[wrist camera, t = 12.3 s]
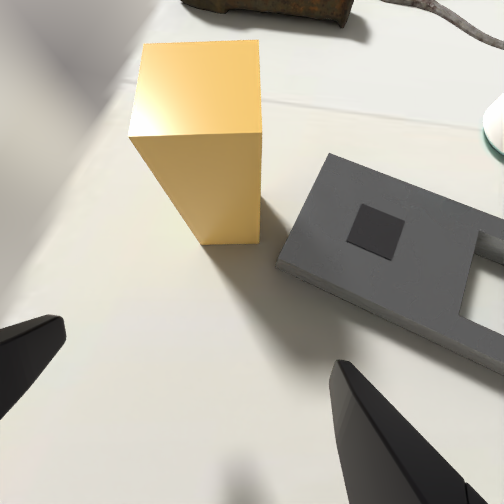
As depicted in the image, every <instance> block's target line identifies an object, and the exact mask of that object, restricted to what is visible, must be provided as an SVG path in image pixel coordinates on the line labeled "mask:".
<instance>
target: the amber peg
mask: <svg viewBox="0 0 504 504" xmlns="http://www.w3.org/2000/svg"><path fill="white" fill-rule="evenodd" d="M128 137H129V139H130V140H131V142H132V143H133V145H134V146H135V148H136V149H137V151H138V152H139V154H140V155H141V157H142V158H143V160H144V161H145V162H146V164H147V165H148V167H149V168H150V170H151V171H152V173H153V174H154V176H155V177H156V179H157V180H158V182H159V183H160V185H161V186H162V188H163V189H164V191H165V192H166V194H167V195H168V197H169V198H170V200H171V201H172V203H173V204H174V206H175V207H176V209H177V210H178V212H179V213H180V215H181V216H182V218H183V219H184V221H185V222H186V224H187V225H188V227H189V228H190V230H191V231H192V233H193V234H194V236H195V237H196V239H197V240H198V242H199V243H200V245H218V244H259V234H260V196H261V157H262V116H261V90H260V64H259V40H237V41H209V42H181V43H153V44H144V46H143V51H142V57H141V63H140V69H139V75H138V81H137V87H136V93H135V99H134V105H133V110H132V116H131V122H130V128H129V134H128Z"/></svg>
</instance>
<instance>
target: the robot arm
mask: <svg viewBox="0 0 504 504" xmlns="http://www.w3.org/2000/svg"><path fill="white" fill-rule="evenodd" d="M65 341H66V331H65V325H64V320H63V318H62V317H61V316H57V315H44V316H41V317H38V318H34V319H31V320H28V321H25V322H22V323H18V324H15V325H12V326H9V327H5V328H2V329H0V420H1V419H2V418H3V417H4V415H5V414H6V413H7V412H8V411H9V410H10V409H11V408H12V407H13V406H14V405H15V403H16V402H17V401H18V400H19V399H20V398H21V397H22V396H23V395H24V393H25V392H26V391H27V390H28V389H29V388H30V387H31V385H32V384H33V383H34V382H35V380H36V379H37V378H38V377H39V375H40V374H41V373H42V371H43V370H44V369H45V368H46V366H47V365H48V364H49V362H50V361H51V360H52V359H53V357H54V356H55V355H56V353H57V352H58V351H59V350H60V348H61V347H62V346H63V344H64V343H65ZM329 389H330V397H331V406H332V414H333V422H334V431H335V438H336V444H337V449H338V454H339V458H340V463H341V468H342V472H343V477H344V481H345V486H346V490H347V495H348V500H349V504H488V503H487V502H486V501H485V500H484V499H483V498H482V497H481V496H480V495H479V494H478V493H477V492H476V491H475V490H474V489H473V488H472V487H471V486H470V485H469V484H468V483H465V481H464V479H463V478H462V477H461V475H460V474H459V473H458V472H457V471H456V470H455V469H454V468H453V467H452V466H451V465H450V464H449V463H448V462H447V461H446V460H445V459H444V458H443V457H442V456H441V455H440V454H439V453H438V452H437V451H436V450H435V449H434V448H433V447H432V446H431V445H430V444H429V443H428V441H427V440H426V439H425V438H424V437H423V436H422V435H421V434H420V433H419V432H418V431H417V430H416V429H415V428H414V427H413V426H412V425H411V424H410V423H409V422H408V421H407V420H406V419H405V418H404V417H403V416H402V415H401V414H400V413H399V412H398V411H397V410H396V409H395V407H394V406H393V405H392V404H391V403H390V402H389V401H388V400H387V399H386V398H385V397H384V396H383V395H382V394H381V393H380V392H379V391H378V390H377V389H376V388H375V387H374V386H373V385H372V384H371V383H370V382H369V381H368V380H367V379H366V378H365V377H364V376H363V375H362V373H361V372H360V371H359V370H358V369H357V368H356V367H355V366H354V365H353V364H352V363H351V362H349V361H345V360H336V361H335V363H334V366H333V369H332V373H331V376H330V380H329Z"/></svg>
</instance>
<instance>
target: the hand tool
mask: <svg viewBox="0 0 504 504" xmlns="http://www.w3.org/2000/svg"><path fill="white" fill-rule="evenodd" d="M181 1H182V2H183V3H185V4H187V5H190V6H193V7H195V8H198V9H203V10H208V11H212V12H216V13H220V14H225V13H226V12H227V11H228V10H230V9H236V8H238V9H247V10H254V11H260V12H265V11H268V12H274V13H280V14H288V15H295V16H303V17H310V18H316V19H319V20H322V19H330V20H335V21H337V22H338V23H339V25H340V28H344V25H345V23H346V22H347V19H348V17H349V14H350V11H351V8H352V5H353V2H354V0H181Z"/></svg>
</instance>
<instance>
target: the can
mask: <svg viewBox="0 0 504 504" xmlns="http://www.w3.org/2000/svg"><path fill="white" fill-rule="evenodd" d="M483 127H484V131H485V134H486V137H487V139H488V141H489V143H490V144H491V145H492V147H493V148H494V149H495V150H496V151H498V152H499V153H500V154H502V155H503V156H504V93H503V94H502V95H501V96H500V97H499V98H498V99H497V100H496V101H495V102H494V103H493V104H492V105H490V106H489V108H488V109H487V110H486V112H485V114H484V117H483Z"/></svg>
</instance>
